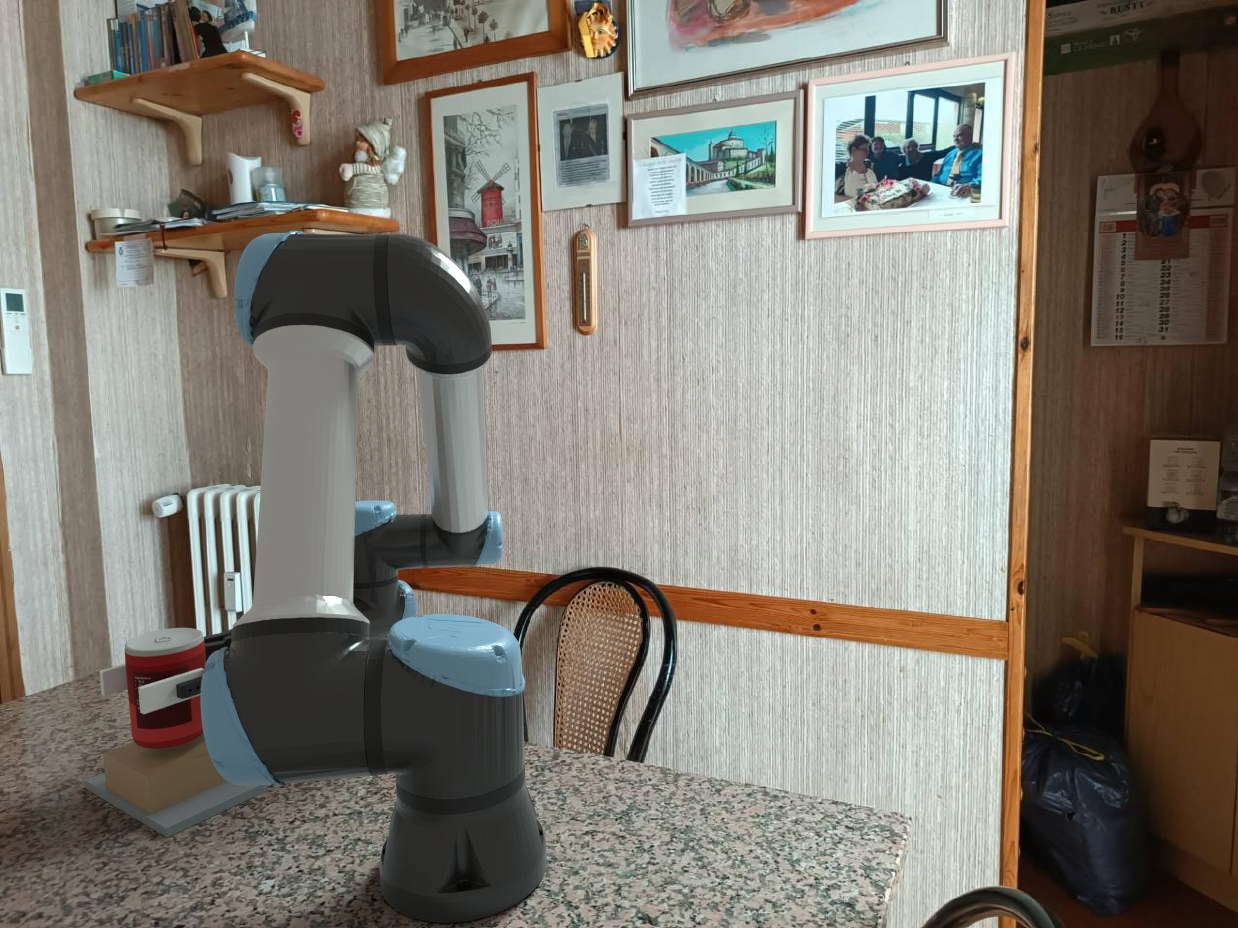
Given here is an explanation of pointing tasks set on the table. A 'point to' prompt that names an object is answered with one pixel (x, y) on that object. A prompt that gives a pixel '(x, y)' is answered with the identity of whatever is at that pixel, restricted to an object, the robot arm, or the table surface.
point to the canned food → (159, 661)
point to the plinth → (181, 808)
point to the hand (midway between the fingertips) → (121, 691)
